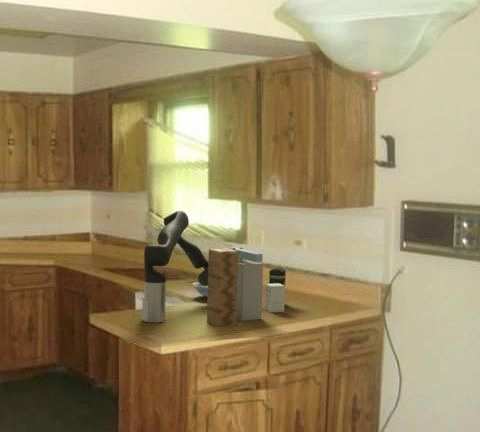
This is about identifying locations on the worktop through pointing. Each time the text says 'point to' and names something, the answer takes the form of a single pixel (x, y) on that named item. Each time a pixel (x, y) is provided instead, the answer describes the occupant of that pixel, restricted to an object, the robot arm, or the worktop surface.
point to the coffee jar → (277, 276)
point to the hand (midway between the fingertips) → (238, 249)
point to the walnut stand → (222, 287)
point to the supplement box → (274, 297)
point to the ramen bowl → (201, 288)
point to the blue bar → (249, 255)
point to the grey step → (249, 290)
